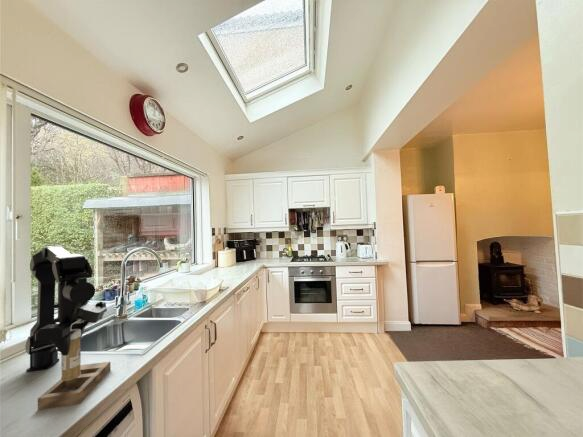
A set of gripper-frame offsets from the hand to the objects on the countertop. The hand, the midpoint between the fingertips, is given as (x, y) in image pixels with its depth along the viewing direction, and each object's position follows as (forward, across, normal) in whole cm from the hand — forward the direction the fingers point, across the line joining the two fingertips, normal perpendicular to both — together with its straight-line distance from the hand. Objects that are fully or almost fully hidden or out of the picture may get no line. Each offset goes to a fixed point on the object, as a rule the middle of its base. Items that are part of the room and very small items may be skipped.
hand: (70, 351), depth 76 cm
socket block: (+13, +3, 0) cm, 13 cm away
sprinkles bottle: (+8, 0, 0) cm, 8 cm away
